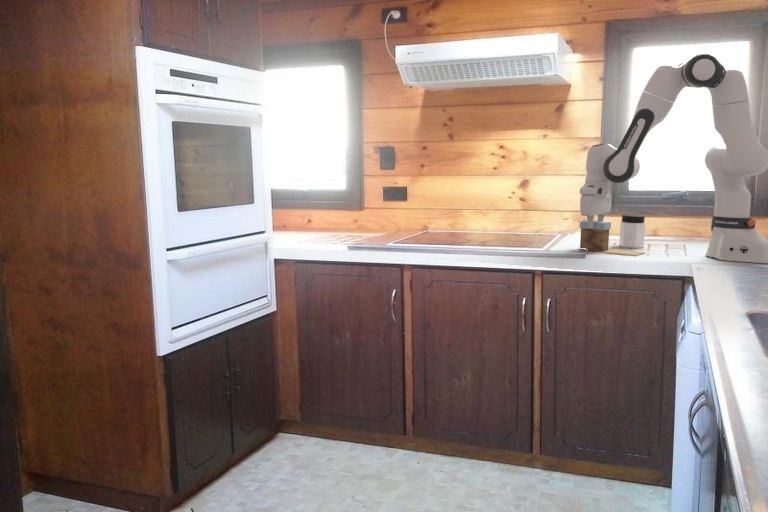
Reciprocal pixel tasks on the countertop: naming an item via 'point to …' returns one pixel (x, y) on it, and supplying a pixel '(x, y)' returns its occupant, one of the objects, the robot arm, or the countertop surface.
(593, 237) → the box
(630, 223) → the jar
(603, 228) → the lid
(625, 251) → the mat
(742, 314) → the countertop surface
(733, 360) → the countertop surface
